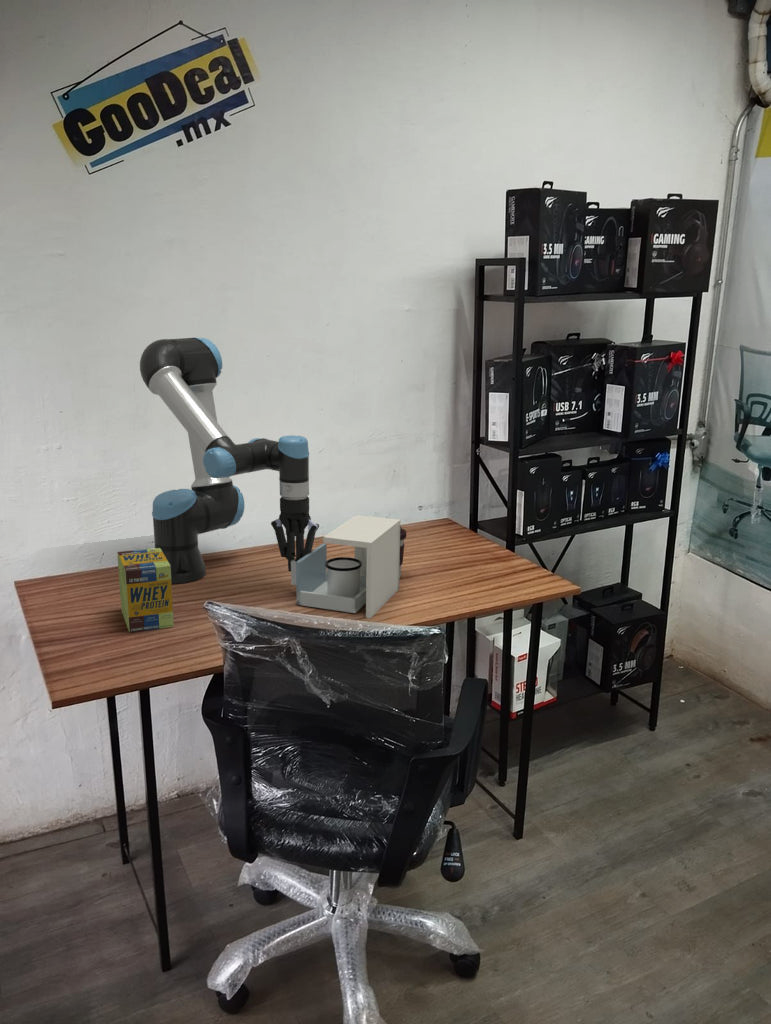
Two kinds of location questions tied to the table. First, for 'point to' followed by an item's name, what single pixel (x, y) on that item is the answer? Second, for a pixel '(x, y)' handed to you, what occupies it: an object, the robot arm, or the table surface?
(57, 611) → the table surface
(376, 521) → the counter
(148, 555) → the protein box
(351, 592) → the mug
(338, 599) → the tray
